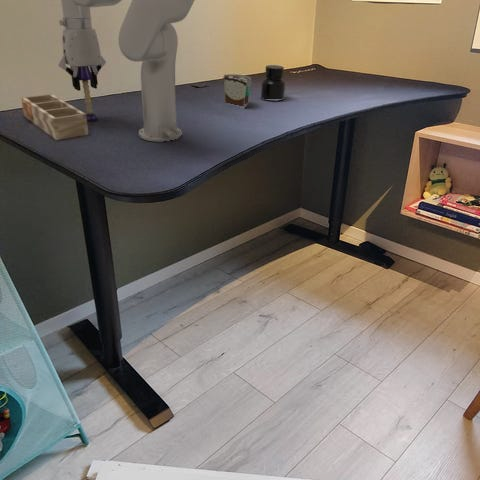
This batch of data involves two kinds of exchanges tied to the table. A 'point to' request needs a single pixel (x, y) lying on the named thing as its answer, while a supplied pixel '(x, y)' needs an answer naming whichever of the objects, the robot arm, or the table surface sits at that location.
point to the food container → (237, 89)
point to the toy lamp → (86, 90)
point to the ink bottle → (273, 83)
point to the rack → (55, 116)
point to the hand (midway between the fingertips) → (85, 88)
